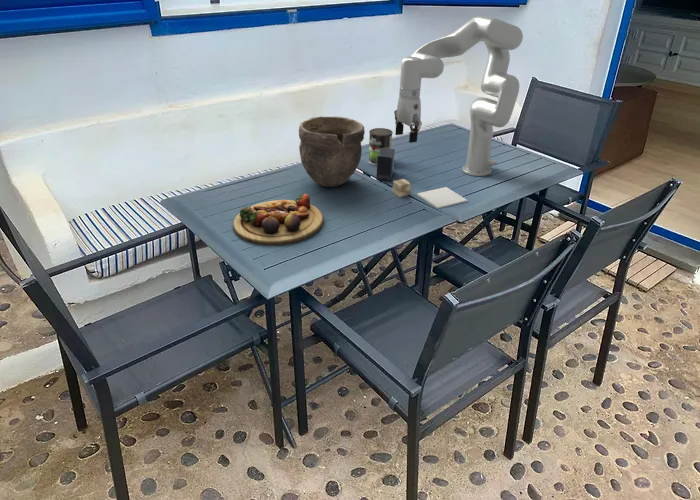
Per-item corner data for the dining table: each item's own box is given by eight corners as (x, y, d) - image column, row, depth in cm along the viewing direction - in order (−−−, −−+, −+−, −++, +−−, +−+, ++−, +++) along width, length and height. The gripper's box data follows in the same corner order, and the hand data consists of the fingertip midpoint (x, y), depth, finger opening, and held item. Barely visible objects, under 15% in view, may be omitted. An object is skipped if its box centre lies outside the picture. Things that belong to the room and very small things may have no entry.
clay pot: (375, 187, 223) (377, 127, 210) (320, 201, 211) (318, 139, 199) (342, 166, 242) (342, 111, 230) (290, 178, 231) (286, 120, 218)
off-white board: (445, 188, 222) (446, 186, 222) (467, 201, 212) (467, 200, 212) (417, 194, 217) (417, 193, 217) (437, 208, 206) (437, 207, 206)
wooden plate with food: (297, 198, 215) (296, 178, 210) (340, 229, 191) (339, 208, 187) (220, 219, 200) (217, 199, 196) (256, 256, 177) (253, 234, 173)
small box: (391, 180, 229) (392, 157, 224) (375, 179, 230) (376, 156, 225) (394, 171, 238) (395, 148, 233) (379, 170, 239) (380, 147, 234)
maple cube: (403, 190, 221) (403, 178, 218) (409, 194, 217) (410, 183, 215) (392, 192, 219) (393, 181, 216) (399, 197, 215) (399, 185, 213)
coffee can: (381, 167, 242) (382, 136, 235) (363, 161, 248) (364, 131, 240) (395, 161, 248) (397, 131, 241) (378, 155, 254) (379, 126, 247)
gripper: (431, 97, 194) (426, 144, 202) (405, 86, 207) (402, 130, 215) (414, 99, 191) (409, 146, 199) (388, 88, 204) (385, 133, 212)
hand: (405, 138), depth 207 cm, fingers open, 9 cm apart
